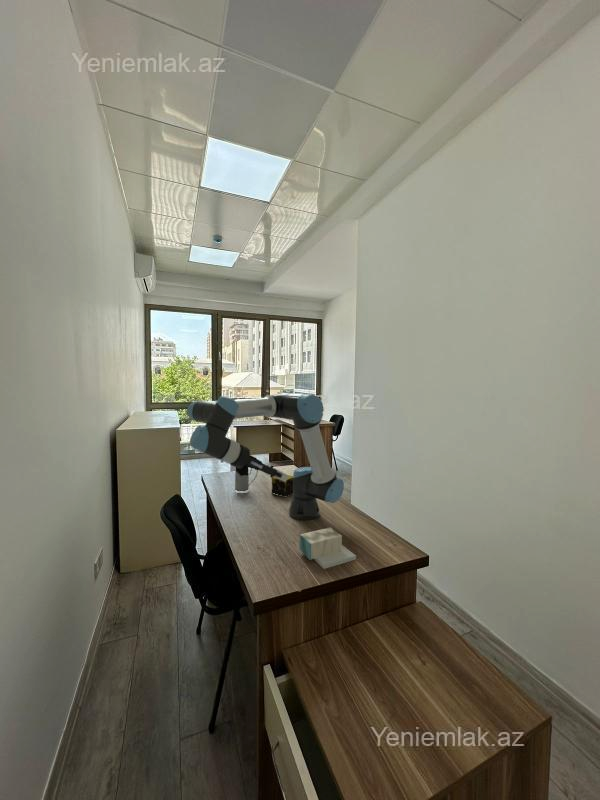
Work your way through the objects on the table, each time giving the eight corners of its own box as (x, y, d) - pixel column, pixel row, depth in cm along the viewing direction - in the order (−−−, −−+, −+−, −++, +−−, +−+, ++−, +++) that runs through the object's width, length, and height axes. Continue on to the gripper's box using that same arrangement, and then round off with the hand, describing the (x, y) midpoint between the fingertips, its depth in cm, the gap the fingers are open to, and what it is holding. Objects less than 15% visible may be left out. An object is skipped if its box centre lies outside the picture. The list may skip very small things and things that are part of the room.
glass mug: (232, 489, 196) (232, 465, 195) (254, 486, 203) (254, 462, 202) (237, 494, 188) (237, 468, 187) (260, 490, 195) (260, 466, 194)
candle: (295, 492, 193) (295, 476, 193) (285, 497, 185) (285, 480, 184) (281, 489, 199) (281, 473, 198) (271, 494, 190) (271, 477, 189)
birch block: (299, 534, 125) (330, 527, 132) (299, 549, 125) (330, 541, 132) (310, 543, 118) (341, 535, 125) (309, 559, 118) (341, 551, 125)
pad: (300, 545, 131) (300, 542, 131) (329, 538, 138) (329, 535, 138) (324, 569, 115) (324, 564, 115) (355, 559, 122) (355, 555, 122)
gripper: (222, 459, 115) (273, 482, 128) (236, 469, 105) (290, 492, 117) (232, 440, 117) (281, 464, 129) (247, 447, 106) (299, 473, 118)
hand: (285, 478), depth 123 cm, fingers closed
